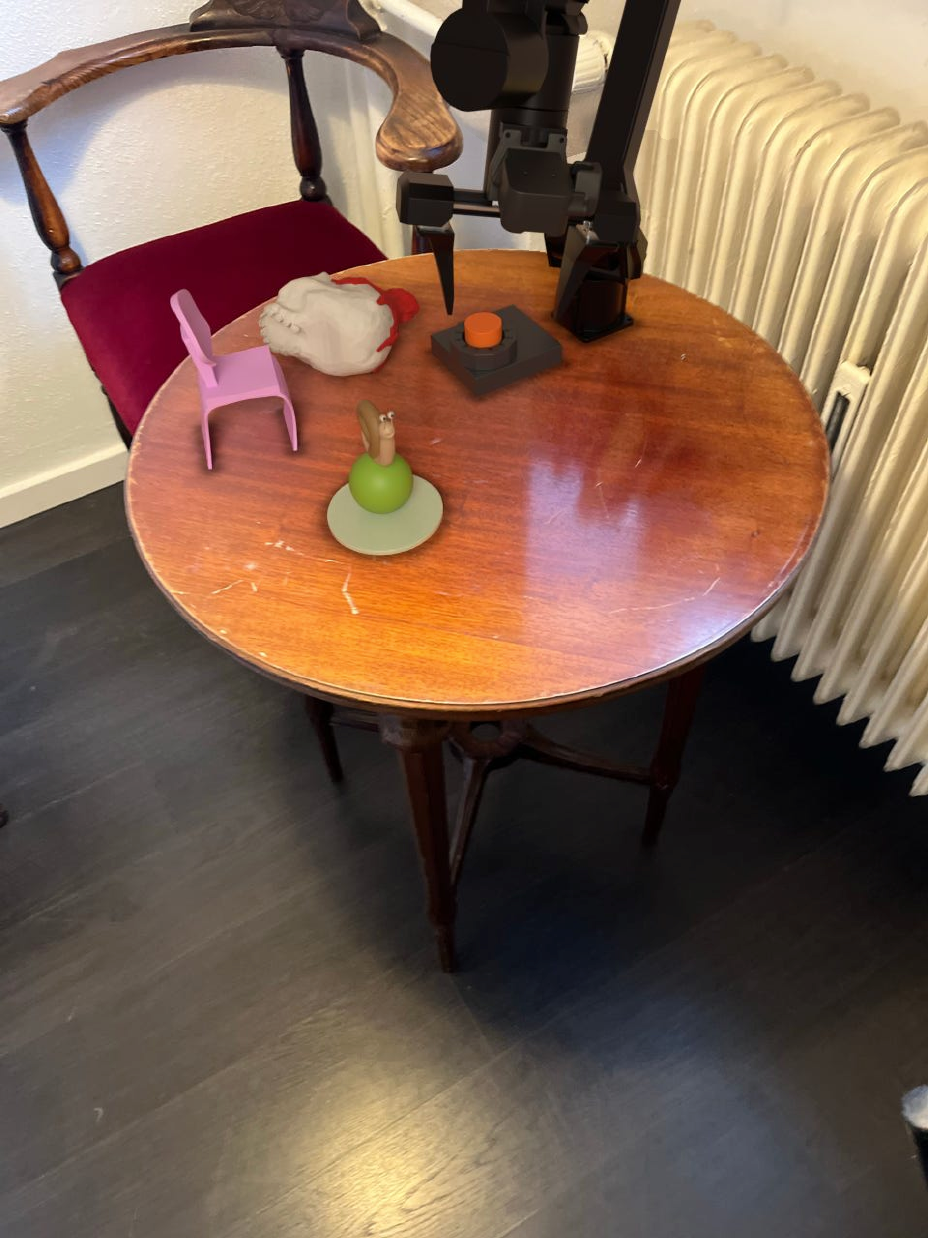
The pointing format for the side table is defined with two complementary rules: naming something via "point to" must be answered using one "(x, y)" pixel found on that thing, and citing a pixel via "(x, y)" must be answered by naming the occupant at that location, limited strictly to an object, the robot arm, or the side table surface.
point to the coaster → (386, 521)
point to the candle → (336, 323)
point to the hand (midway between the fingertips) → (503, 317)
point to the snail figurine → (379, 464)
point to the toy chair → (229, 370)
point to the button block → (498, 353)
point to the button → (483, 330)
